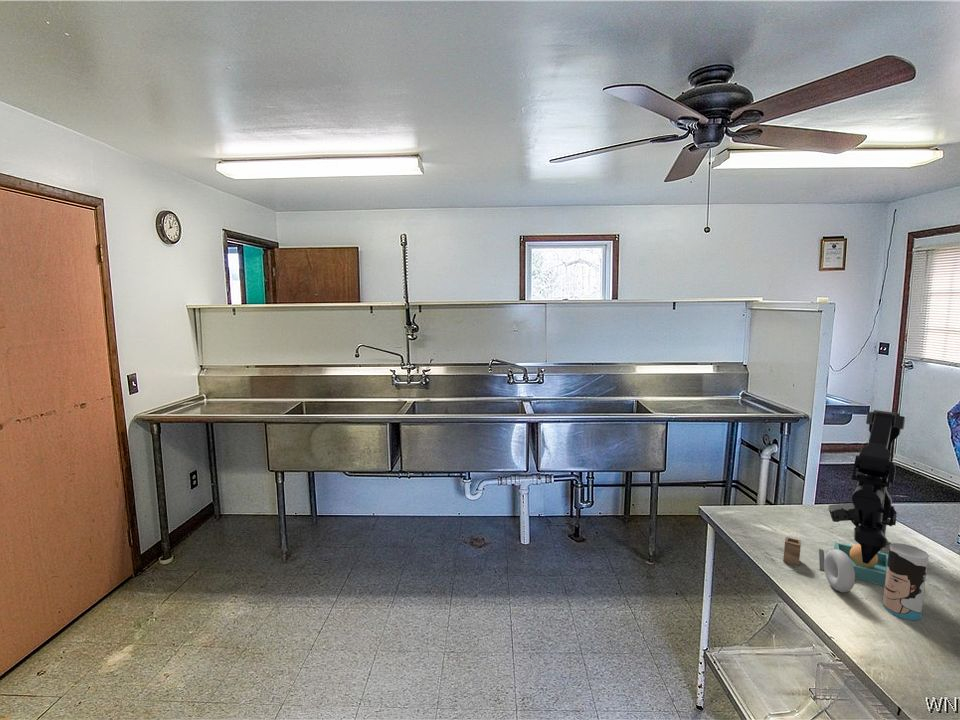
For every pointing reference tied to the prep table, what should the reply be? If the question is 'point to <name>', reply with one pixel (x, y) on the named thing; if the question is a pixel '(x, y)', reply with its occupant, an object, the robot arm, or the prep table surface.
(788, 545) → the tee
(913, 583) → the cup
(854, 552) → the ball
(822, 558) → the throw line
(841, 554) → the donut
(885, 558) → the tray
